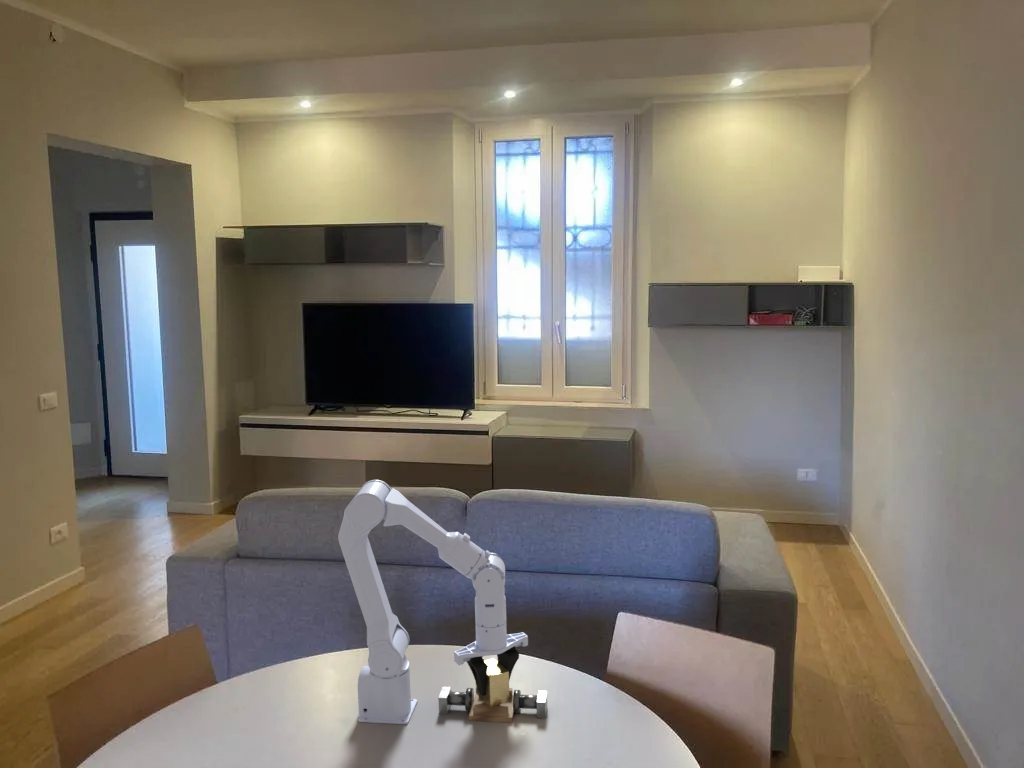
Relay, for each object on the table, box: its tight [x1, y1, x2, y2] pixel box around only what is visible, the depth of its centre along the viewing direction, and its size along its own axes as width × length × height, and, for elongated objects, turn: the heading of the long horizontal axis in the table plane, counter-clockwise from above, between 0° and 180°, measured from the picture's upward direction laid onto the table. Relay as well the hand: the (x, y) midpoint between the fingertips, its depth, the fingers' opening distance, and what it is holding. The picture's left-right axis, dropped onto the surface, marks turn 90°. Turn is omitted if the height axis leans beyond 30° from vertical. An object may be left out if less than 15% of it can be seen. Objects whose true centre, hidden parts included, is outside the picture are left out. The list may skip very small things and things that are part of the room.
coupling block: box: [475, 657, 510, 708], centre depth 150 cm, size 6×4×6 cm, turn 29°
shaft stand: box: [438, 686, 548, 724], centre depth 150 cm, size 20×8×4 cm, turn 83°
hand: (492, 689), depth 150 cm, fingers closed on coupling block, 4 cm apart
